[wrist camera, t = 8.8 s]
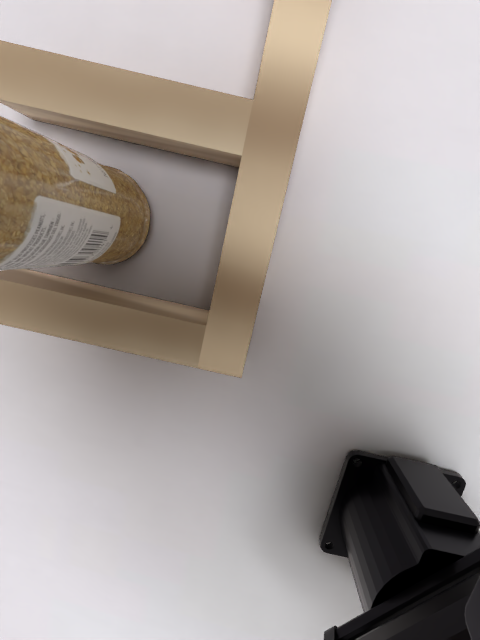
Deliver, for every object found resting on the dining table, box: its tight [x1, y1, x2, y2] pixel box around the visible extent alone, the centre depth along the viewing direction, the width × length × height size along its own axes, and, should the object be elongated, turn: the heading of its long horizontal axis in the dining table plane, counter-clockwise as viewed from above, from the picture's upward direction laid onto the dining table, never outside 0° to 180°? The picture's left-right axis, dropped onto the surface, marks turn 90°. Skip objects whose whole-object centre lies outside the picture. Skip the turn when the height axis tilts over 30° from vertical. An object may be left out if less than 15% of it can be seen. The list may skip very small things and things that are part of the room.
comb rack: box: [0, 0, 332, 378], centre depth 16 cm, size 20×12×3 cm, turn 167°
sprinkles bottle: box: [0, 116, 150, 270], centre depth 11 cm, size 5×5×14 cm
